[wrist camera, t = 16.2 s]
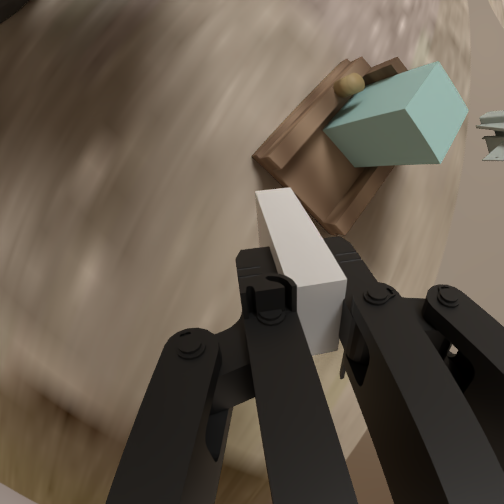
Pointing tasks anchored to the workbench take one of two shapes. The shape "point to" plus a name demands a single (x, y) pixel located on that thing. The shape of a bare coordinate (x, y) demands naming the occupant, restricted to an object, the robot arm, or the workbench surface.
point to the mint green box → (400, 119)
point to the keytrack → (326, 149)
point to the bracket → (499, 145)
